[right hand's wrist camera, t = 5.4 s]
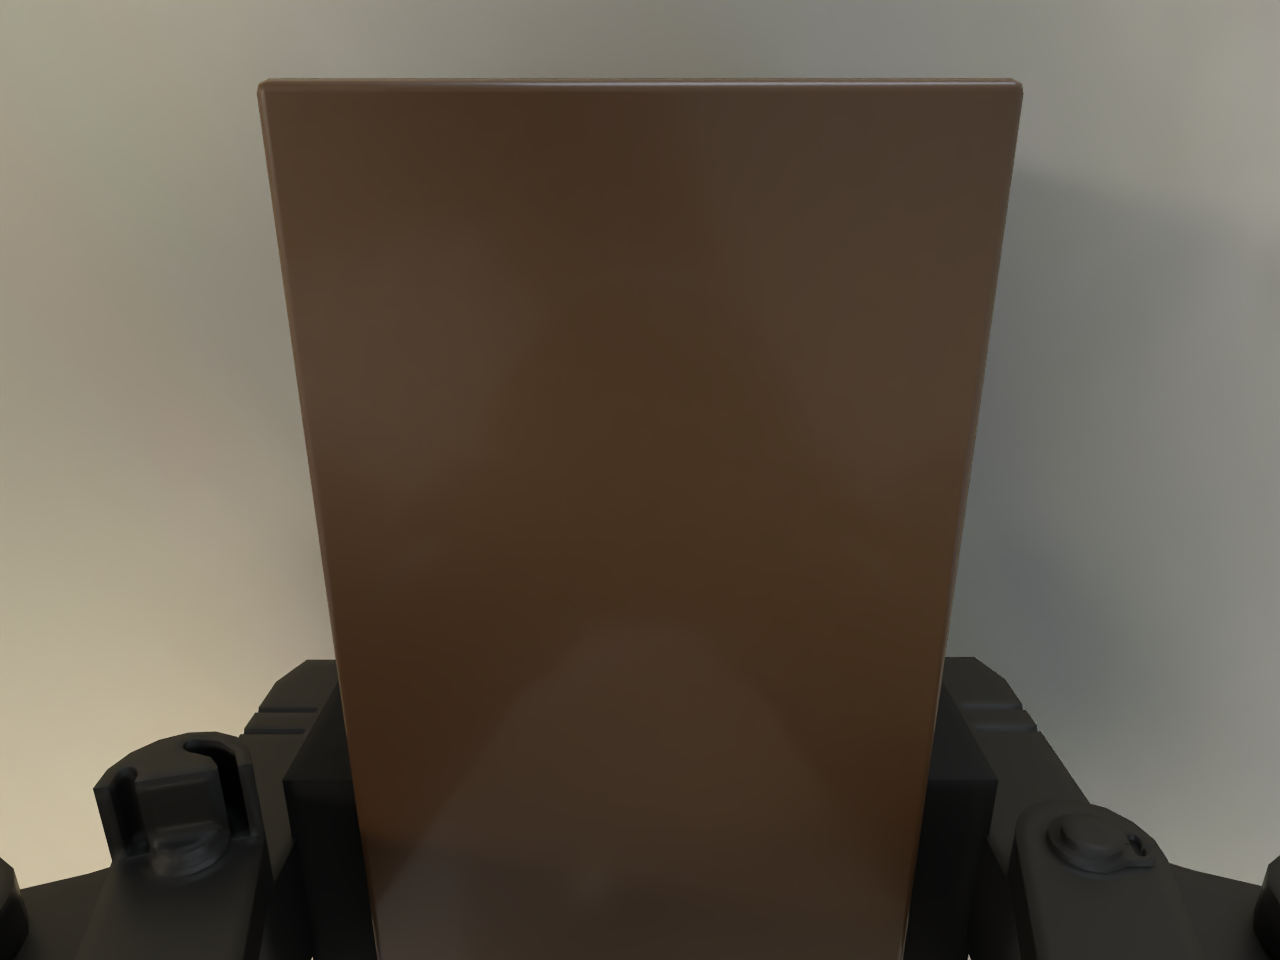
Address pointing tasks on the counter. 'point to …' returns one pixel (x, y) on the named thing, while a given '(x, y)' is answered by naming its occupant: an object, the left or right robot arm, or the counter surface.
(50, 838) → the counter surface
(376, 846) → the bar
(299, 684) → the right robot arm
